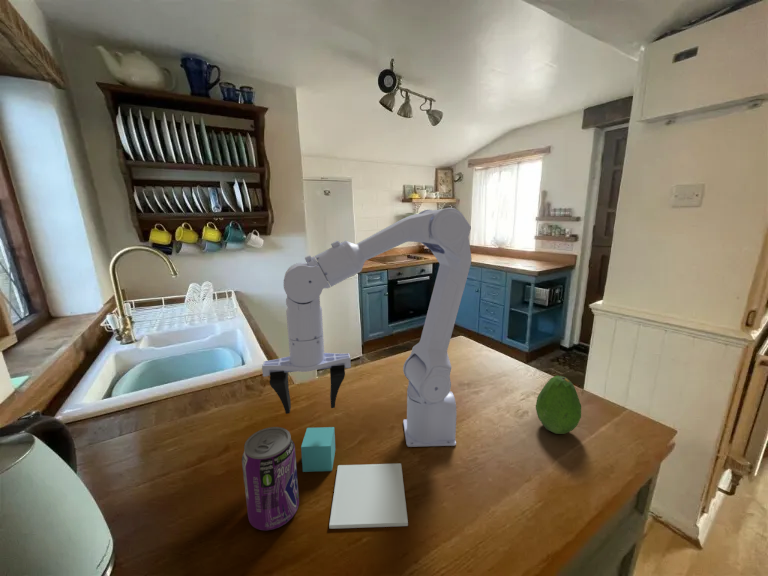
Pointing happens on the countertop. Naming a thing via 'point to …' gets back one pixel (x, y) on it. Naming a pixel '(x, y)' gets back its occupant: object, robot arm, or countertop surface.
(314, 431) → the cube
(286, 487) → the beverage can
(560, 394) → the avocado
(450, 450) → the countertop surface
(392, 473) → the plate
